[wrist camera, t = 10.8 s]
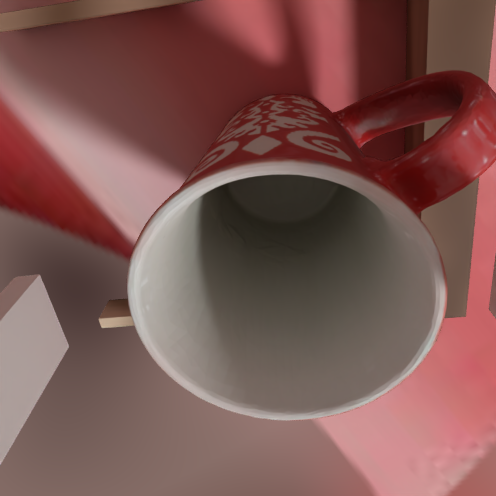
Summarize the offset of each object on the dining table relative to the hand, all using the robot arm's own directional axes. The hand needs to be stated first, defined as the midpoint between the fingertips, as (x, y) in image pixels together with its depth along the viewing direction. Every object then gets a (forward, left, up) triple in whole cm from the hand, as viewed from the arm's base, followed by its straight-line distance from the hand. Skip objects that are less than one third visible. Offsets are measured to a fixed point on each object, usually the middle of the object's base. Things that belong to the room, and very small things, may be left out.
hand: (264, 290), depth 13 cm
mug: (+2, +1, -13) cm, 13 cm away
